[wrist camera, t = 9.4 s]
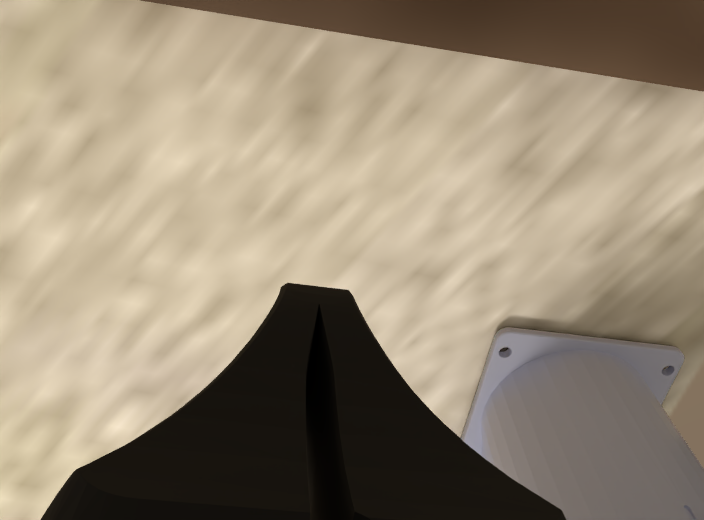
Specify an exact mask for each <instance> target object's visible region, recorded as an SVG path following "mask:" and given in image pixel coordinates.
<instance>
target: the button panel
mask: <svg viewBox="0 0 704 520" xmlns="http://www.w3.org/2000/svg"><path fill="white" fill-rule="evenodd" d="M142 1H148V2H154V3H160V4H166V5H172V6H179V7H185V8H191V9H197V10H203V11H210V12H216V13H222V14H228V15H234V16H240V17H247V18H253V19H259V20H265V21H271V22H278V23H284V24H290V25H296V26H302V27H308V28H315V29H321V30H327V31H333V32H339V33H346V34H352V35H358V36H364V37H370V38H376V39H383V40H389V41H395V42H401V43H407V44H414V45H420V46H426V47H432V48H438V49H444V50H451V51H457V52H463V53H469V54H475V55H482V56H488V57H494V58H500V59H506V60H512V61H519V62H525V63H531V64H537V65H543V66H550V67H556V68H562V69H568V70H574V71H580V72H587V73H593V74H599V75H605V76H611V77H618V78H624V79H630V80H636V81H642V82H648V83H655V84H661V85H667V86H673V87H679V88H686V89H692V90H698V91H704V0H142Z"/></svg>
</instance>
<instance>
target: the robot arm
mask: <svg viewBox="0 0 704 520" xmlns="http://www.w3.org/2000/svg"><path fill="white" fill-rule="evenodd" d="M504 347H508V350H506V351H504V352H500V349H502V348H504ZM684 359H685V357H684V354H683V353H682V352H681V350H680V349H679V348H678V347H674V346H667V345H658V344H650V343H641V342H632V341H624V340H615V339H607V338H598V337H589V336H581V335H572V334H564V333H555V332H546V331H538V330H529V329H521V328H512V327H505V328H502V329H500V330H499V331H498V332H497V333H496V334H495V336H494V339H493V342H492V345H491V348H490V352H489V355H488V358H487V361H486V364H485V367H484V370H483V373H482V376H481V379H480V382H479V385H478V388H477V391H476V394H475V397H474V400H473V403H472V407H471V410H470V413H469V416H468V419H467V422H466V425H465V428H464V431H463V434H462V437H461V439H460V438H459V437H458V436H457V435H456V434H455V433H454V432H453V431H452V430H450V429H449V428H448V427H447V426H446V425H445V424H444V423H443V422H442V421H441V420H440V419H439V418H438V417H437V416H436V415H435V414H434V413H433V412H432V411H431V410H430V409H429V408H428V407H427V406H426V405H425V404H424V403H423V402H422V401H421V399H420V398H419V397H418V396H417V395H416V394H415V393H414V392H413V390H412V389H411V388H410V387H409V386H408V384H407V383H406V382H405V380H404V379H403V378H402V376H401V375H400V374H399V372H398V371H397V370H396V368H395V367H394V366H393V364H392V363H391V361H390V360H389V358H388V357H387V355H386V354H385V352H384V351H383V349H382V348H381V346H380V344H379V343H378V341H377V340H376V338H375V337H374V335H373V333H372V332H371V330H370V328H369V326H368V325H367V323H366V321H365V319H364V317H363V315H362V314H361V312H360V310H359V308H358V306H357V304H356V302H355V299H354V297H353V295H352V294H351V293H350V291H349V290H343V289H335V288H326V287H318V286H310V285H301V284H293V283H287V284H285V285H284V286H282V287H281V290H280V293H279V295H278V298H277V300H276V302H275V304H274V305H273V307H272V309H271V310H270V312H269V314H268V315H267V317H266V318H265V320H264V321H263V323H262V324H261V326H260V327H259V328H258V330H257V331H256V333H255V334H254V335H253V337H252V338H251V339H250V341H249V342H248V343H247V344H246V345H245V347H244V348H243V349H242V350H241V351H240V352H239V354H238V355H237V356H236V357H235V358H234V360H233V361H232V362H231V363H230V364H229V365H228V366H227V367H226V368H225V369H224V370H223V371H222V372H221V373H220V374H219V375H218V376H217V377H216V378H215V379H214V380H213V381H212V382H211V383H210V384H209V385H208V386H207V387H206V388H204V389H203V390H202V391H201V392H200V393H199V394H197V395H196V396H195V397H194V398H193V399H191V400H190V401H189V402H188V403H186V404H185V405H184V406H183V407H182V408H180V409H179V410H178V411H176V412H175V413H174V414H172V415H171V416H170V417H168V418H167V419H165V420H164V421H162V422H161V423H159V424H158V425H156V426H155V427H153V428H152V429H150V430H148V431H147V432H145V433H144V434H142V435H141V436H139V437H138V438H136V439H135V440H133V441H131V442H130V443H128V444H126V445H125V446H123V447H121V448H119V449H117V450H115V451H113V452H111V453H109V454H107V455H105V456H103V457H101V458H99V459H97V460H95V461H93V462H91V463H89V464H87V465H85V466H83V467H80V468H78V469H76V470H75V471H74V472H73V473H72V475H71V476H70V477H69V479H68V480H67V481H66V483H65V484H64V485H63V487H62V488H61V490H60V491H59V492H58V494H57V495H56V497H55V498H54V500H53V501H52V503H51V504H50V506H49V507H48V509H47V510H46V512H45V514H44V515H43V517H42V518H41V520H704V469H703V467H702V466H701V464H700V463H699V461H698V460H697V458H696V457H695V455H694V454H693V452H692V451H691V449H690V448H689V446H688V445H687V443H686V442H685V440H684V439H683V437H682V436H681V434H680V433H679V431H678V430H677V428H676V427H675V425H674V424H673V422H672V421H671V419H670V418H669V416H668V415H667V413H666V412H665V410H664V409H663V407H662V406H661V405H662V403H663V401H664V399H665V397H666V395H667V393H668V391H669V389H670V387H671V385H672V383H673V381H674V380H675V378H676V376H677V374H678V372H679V370H680V368H681V366H682V364H683V362H684ZM666 366H669V367H668V368H666V369H663V368H664V367H666ZM662 369H663V370H662Z"/></svg>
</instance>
